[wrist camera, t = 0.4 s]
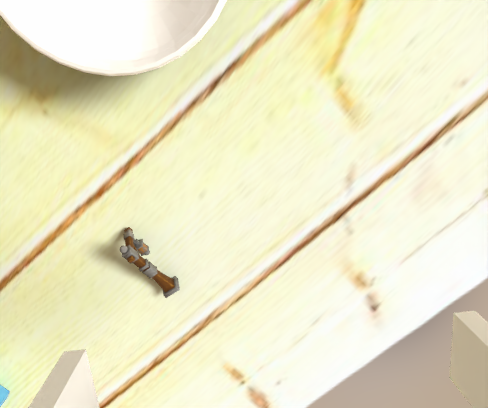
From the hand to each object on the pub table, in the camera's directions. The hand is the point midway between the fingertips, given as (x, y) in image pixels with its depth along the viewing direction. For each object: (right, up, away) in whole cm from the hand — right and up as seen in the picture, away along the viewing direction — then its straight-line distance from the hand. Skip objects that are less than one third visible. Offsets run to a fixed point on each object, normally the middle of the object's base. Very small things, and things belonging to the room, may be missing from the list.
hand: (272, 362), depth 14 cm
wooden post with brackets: (-11, 0, +28) cm, 30 cm away
